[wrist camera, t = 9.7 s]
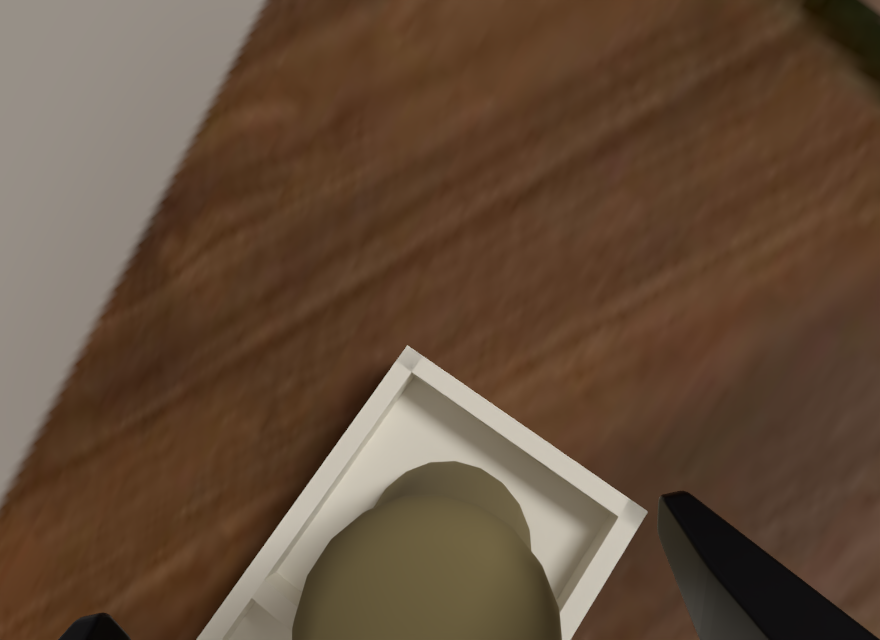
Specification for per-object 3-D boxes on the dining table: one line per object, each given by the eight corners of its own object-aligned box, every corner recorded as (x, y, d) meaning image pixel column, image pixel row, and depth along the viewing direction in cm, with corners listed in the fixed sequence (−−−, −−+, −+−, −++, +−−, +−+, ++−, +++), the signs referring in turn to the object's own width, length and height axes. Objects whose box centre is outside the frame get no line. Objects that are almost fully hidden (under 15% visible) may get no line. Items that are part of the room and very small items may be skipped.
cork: (453, 680, 19) (431, 986, 8) (328, 552, 20) (167, 675, 9) (567, 542, 20) (681, 658, 9) (441, 426, 21) (409, 407, 10)
